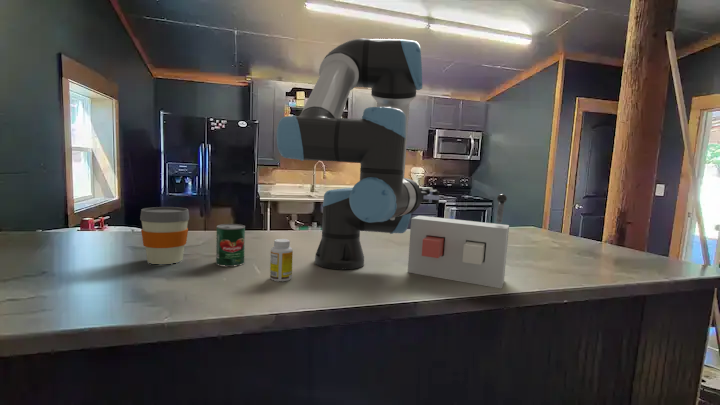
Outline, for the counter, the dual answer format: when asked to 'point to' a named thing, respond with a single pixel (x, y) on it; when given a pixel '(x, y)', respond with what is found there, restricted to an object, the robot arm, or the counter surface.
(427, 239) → the red button
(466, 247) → the ivory button
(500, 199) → the toggle lever
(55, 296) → the counter surface
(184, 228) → the reusable coffee cup
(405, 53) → the robot arm
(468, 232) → the console
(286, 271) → the supplement bottle
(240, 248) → the canned tomato
